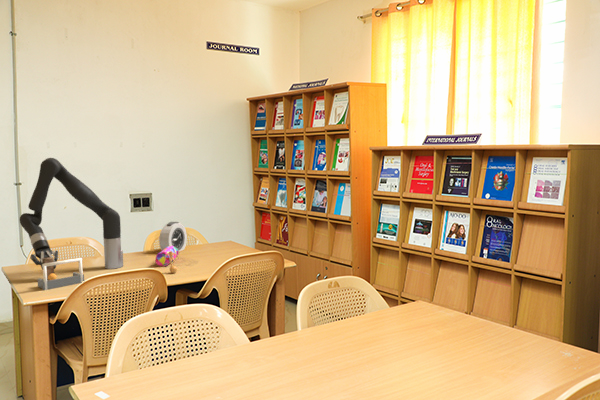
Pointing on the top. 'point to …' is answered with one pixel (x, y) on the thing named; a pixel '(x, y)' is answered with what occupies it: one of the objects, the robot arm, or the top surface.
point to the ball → (52, 276)
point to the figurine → (172, 268)
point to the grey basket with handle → (62, 281)
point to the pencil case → (161, 256)
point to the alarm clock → (173, 236)
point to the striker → (49, 268)
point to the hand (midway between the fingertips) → (49, 269)
